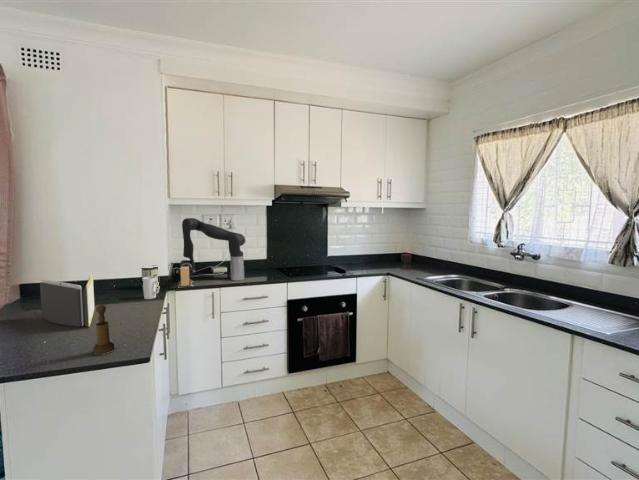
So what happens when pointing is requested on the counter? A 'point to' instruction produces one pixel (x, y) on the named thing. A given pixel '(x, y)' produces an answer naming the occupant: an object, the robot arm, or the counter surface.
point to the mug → (150, 287)
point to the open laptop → (67, 302)
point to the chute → (190, 283)
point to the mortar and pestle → (102, 333)
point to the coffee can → (150, 273)
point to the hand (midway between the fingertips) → (185, 273)
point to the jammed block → (184, 276)
